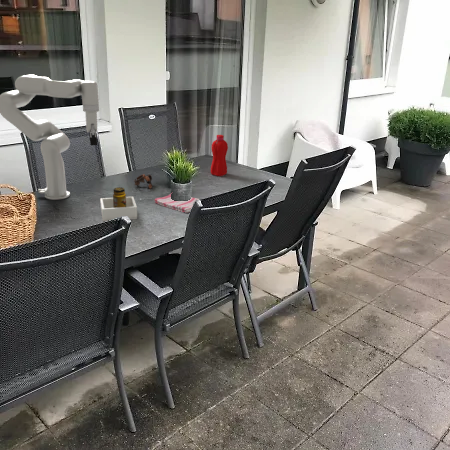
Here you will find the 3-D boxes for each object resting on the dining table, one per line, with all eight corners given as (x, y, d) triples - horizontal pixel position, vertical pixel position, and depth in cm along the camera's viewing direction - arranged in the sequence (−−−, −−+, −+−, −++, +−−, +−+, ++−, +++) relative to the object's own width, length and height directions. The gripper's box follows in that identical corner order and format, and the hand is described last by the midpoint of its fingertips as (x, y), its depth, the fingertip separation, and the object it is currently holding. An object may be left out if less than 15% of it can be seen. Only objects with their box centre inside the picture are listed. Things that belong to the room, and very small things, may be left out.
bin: (102, 221, 221) (102, 209, 218) (101, 209, 234) (100, 198, 232) (137, 218, 225) (136, 207, 223) (133, 207, 238) (133, 196, 236)
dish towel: (175, 195, 259) (175, 189, 257) (208, 206, 246) (209, 199, 245) (153, 203, 246) (153, 197, 245) (187, 215, 234) (187, 208, 232)
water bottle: (207, 175, 294) (208, 135, 284) (216, 171, 303) (217, 132, 293) (219, 178, 290) (220, 137, 280) (228, 174, 298) (230, 134, 289)
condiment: (129, 213, 229) (128, 189, 224) (112, 216, 224) (111, 192, 220) (123, 208, 234) (122, 185, 230) (107, 211, 230) (105, 188, 225)
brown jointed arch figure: (148, 191, 264) (140, 179, 260) (137, 195, 269) (129, 183, 266) (159, 180, 272) (151, 168, 269) (147, 184, 278) (139, 173, 275)
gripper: (82, 105, 234) (85, 139, 241) (83, 111, 219) (86, 147, 226) (98, 104, 236) (100, 138, 243) (100, 110, 221) (102, 146, 228)
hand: (93, 142), depth 234 cm, fingers open, 9 cm apart
